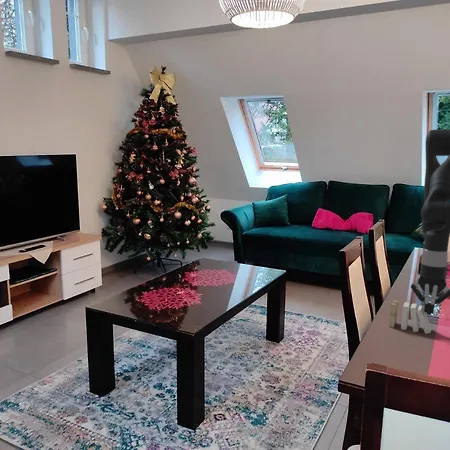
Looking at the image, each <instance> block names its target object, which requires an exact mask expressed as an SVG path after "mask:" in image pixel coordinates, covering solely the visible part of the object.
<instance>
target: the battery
mask: <svg viewBox="0 0 450 450" xmlns="http://www.w3.org/2000/svg"><path fill="white" fill-rule="evenodd" d="M418 257H419V259H418V266H417V267H418V269H417V274H418V275H420V270H421V259H422V254H421V255H419V256H418Z"/></svg>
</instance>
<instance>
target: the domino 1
mask: <svg viewBox="0 0 450 450" xmlns="http://www.w3.org/2000/svg"><path fill="white" fill-rule="evenodd" d="M398 304H399V300H395V299H393V300H392V302H391V303H390V308H389V309H390V310H389V311H390V312H389V319H388V320H389V321H388V327H389V328H395V326H396V324H397V317H398V315H397V314H398V306H399V305H398Z"/></svg>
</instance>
